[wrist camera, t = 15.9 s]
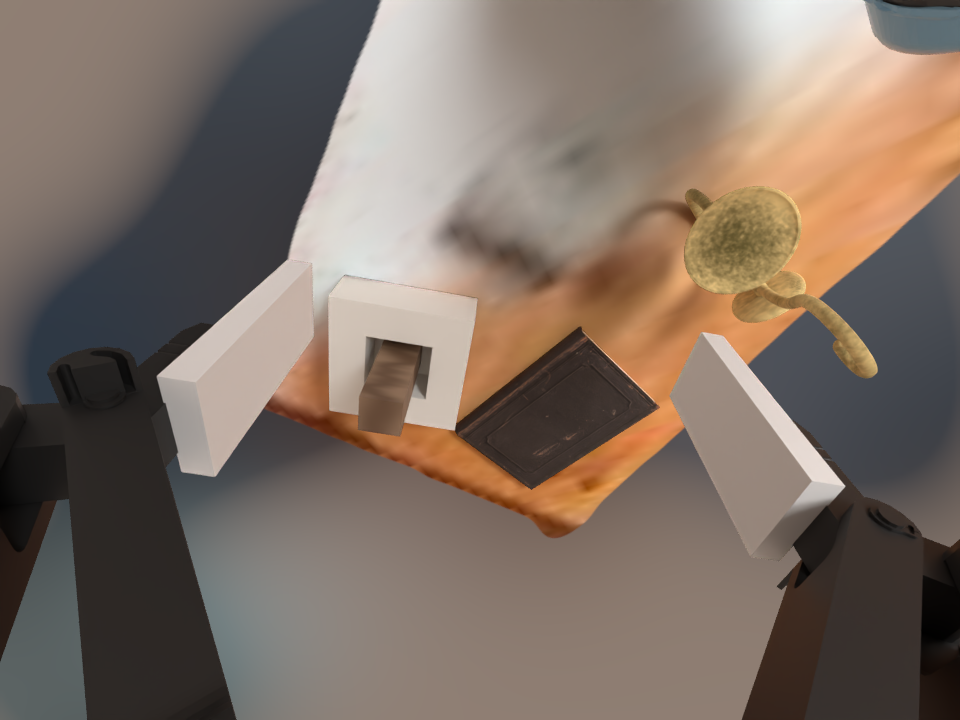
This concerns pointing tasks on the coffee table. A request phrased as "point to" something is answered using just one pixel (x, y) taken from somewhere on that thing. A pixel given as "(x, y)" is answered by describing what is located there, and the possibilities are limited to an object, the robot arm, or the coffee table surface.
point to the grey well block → (403, 318)
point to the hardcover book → (556, 411)
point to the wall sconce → (760, 263)
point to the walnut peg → (389, 388)
